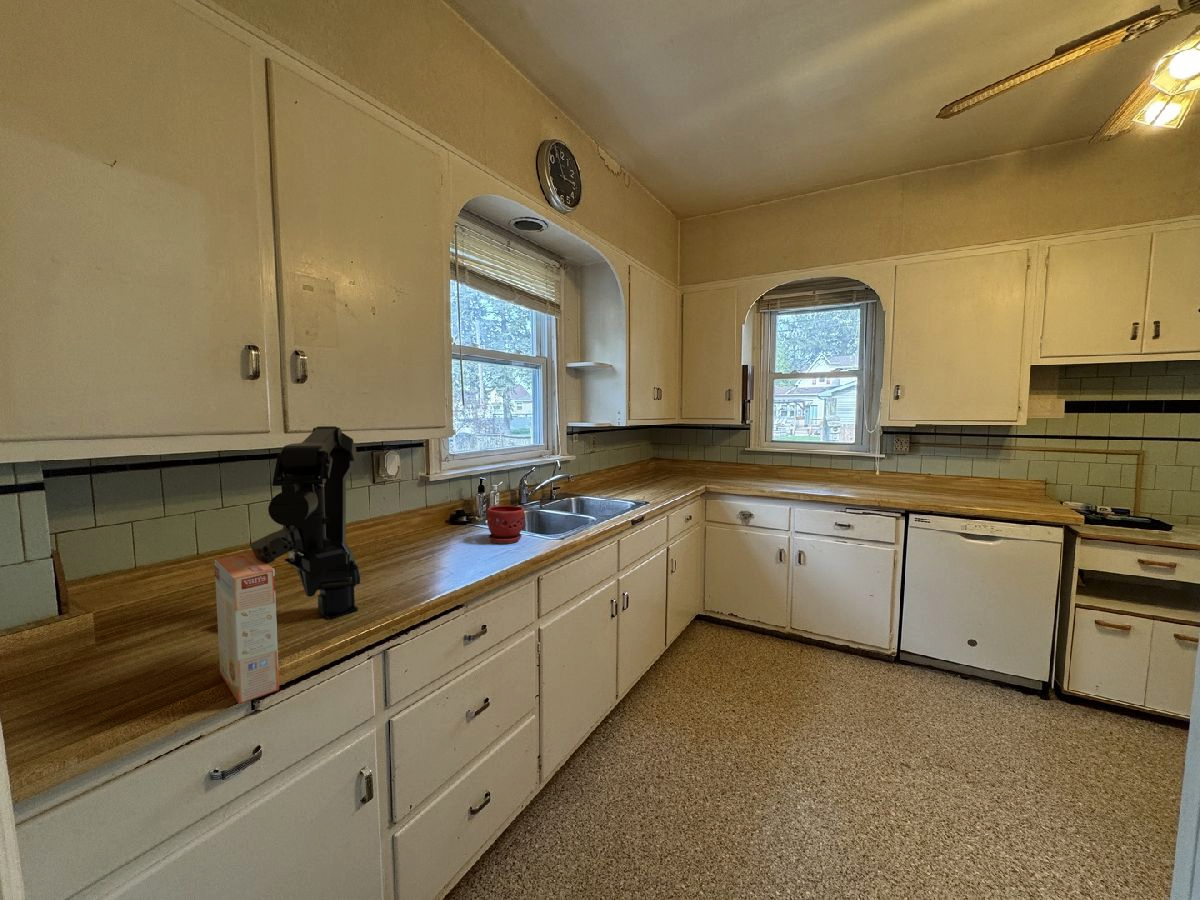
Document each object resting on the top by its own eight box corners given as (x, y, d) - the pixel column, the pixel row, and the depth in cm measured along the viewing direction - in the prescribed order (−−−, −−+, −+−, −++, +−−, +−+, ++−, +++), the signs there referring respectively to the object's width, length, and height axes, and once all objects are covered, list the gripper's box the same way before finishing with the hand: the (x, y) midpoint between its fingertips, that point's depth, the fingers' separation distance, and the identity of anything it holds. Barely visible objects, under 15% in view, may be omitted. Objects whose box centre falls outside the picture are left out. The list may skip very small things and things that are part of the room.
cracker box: (282, 690, 78) (276, 567, 77) (237, 707, 74) (229, 577, 72) (260, 660, 88) (254, 550, 86) (219, 673, 83) (211, 558, 82)
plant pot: (515, 546, 162) (515, 512, 161) (480, 544, 165) (480, 510, 164) (530, 537, 175) (529, 505, 174) (497, 534, 178) (497, 503, 177)
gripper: (237, 513, 86) (242, 596, 87) (274, 530, 74) (279, 625, 76) (305, 504, 95) (308, 580, 96) (347, 517, 83) (350, 603, 84)
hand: (310, 595), depth 88 cm, fingers closed
